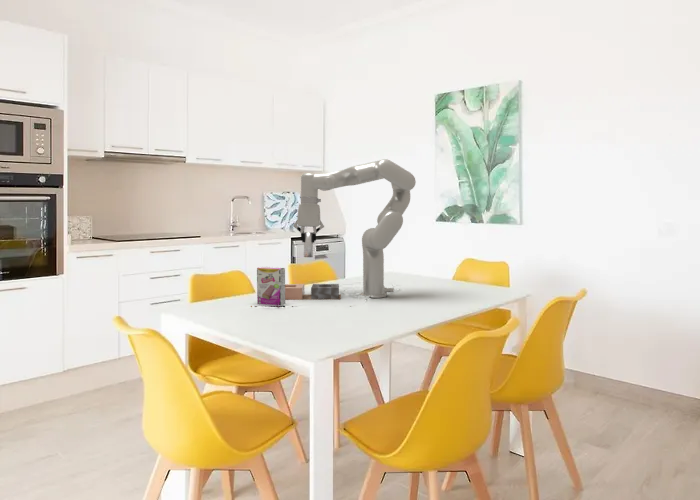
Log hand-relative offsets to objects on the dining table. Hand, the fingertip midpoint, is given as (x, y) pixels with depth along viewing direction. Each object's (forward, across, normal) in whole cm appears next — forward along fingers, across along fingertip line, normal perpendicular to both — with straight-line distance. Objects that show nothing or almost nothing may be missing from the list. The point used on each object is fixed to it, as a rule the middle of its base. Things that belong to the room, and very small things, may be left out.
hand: (308, 241), depth 248 cm
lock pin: (+7, 0, 0) cm, 7 cm away
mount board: (+26, 0, 0) cm, 26 cm away
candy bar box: (+27, +14, +16) cm, 34 cm away
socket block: (+25, +8, 0) cm, 26 cm away
